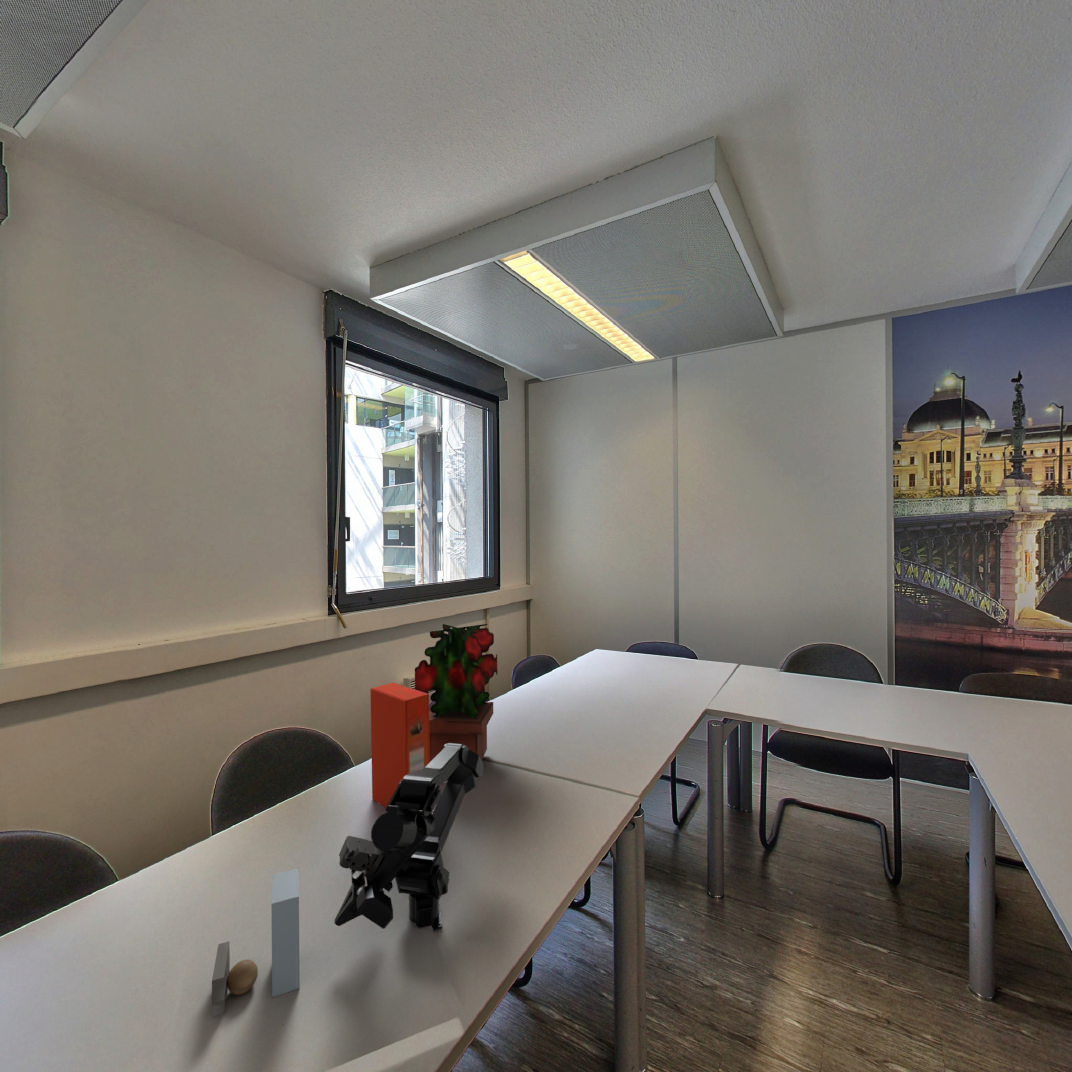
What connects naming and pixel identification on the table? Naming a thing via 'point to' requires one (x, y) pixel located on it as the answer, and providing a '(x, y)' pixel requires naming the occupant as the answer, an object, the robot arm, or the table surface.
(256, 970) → the walnut
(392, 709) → the file binder
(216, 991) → the press bed
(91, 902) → the table surface
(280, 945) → the block
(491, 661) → the potted plant
